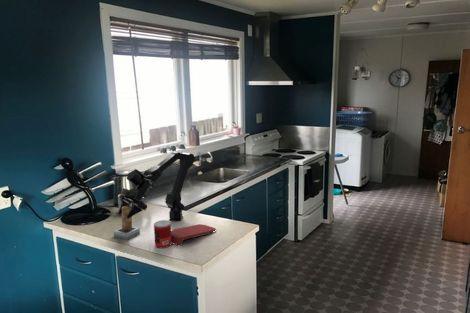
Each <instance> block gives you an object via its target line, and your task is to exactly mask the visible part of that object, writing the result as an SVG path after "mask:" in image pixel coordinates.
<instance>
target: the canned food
mask: <svg viewBox="0 0 470 313" xmlns="http://www.w3.org/2000/svg"><path fill="white" fill-rule="evenodd" d="M171 231H172V224H171V221H170V220H165V219H162V220H158V221H155V222H154V223H153V233H154V234H153V236H154V245H155V247H156V248H159V249H165V248H168V247H170V246H171V245H172V243H171Z"/></svg>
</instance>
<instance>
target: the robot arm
mask: <svg viewBox="0 0 470 313" xmlns="http://www.w3.org/2000/svg"><path fill="white" fill-rule="evenodd" d="M178 160H179V161H178ZM195 160H196V157H195V155H194V154H193V153H189V152H185V151H184V152H182V153H181V152H179V151H172V152H171V153H170V154H169V155H168V156H166V158H164V159H163V160H162V161H160V163H159V162H158V164H157V165H154V166H151V167H149V168H147V169H146V170H145V171H144V172H140V171H139V170H138V169H136V168H134V169H133V170H131V171H130V172H129V173H128V174H127V176H126V180H128V181H129V182H130V183H131V184H132V185H133V186H135V188H129V189H128V188H125V187H123V188H122V190H121V193H120V194H121V195H120V197H119V198H120V200H121V207H120V210H119V209H118V215H122V207H123V206H130V205H129V204H131V203H133V204H132V209H131V210H130V212H129V214H128V216H127V218H130V217H132V218H133V216H135V215H137V214H139V213H141V212H143V211H146V210H147V208H148V205H147V203H145V202H144V201H142V200H143V198H146V197H147V196H146V194H147V192H148V191H149V189H151V188H152V189H154V188H155V186H154V183H153V182H157V181H159V179H160V178H161V177H162V175H163V173H164V171H166V170H168V168H169V167H171V166H172V165H173V164H174V163H175V162H177V161H178V162H179V169H178V171H177V175H176V178H175V181H174V185H173V187H172V190H171V191H170V192H167V193H166V196H165V198H164V200H165V201H164V203H165V204H166V206H167V208H168V209H169V212H168V215H169V221H170V222H171V221H172V222H173V221H174V222H181V221H182V220H183V219H184V216H183V211H184V210H185V205H184V204H183V203H182V202H181V201H182V194H181V193H182V189H183V187H184V183H185V181H186V179H187V174H188V172H189V169H190V168H191V167H192V166H193V165H194V162H195ZM181 219H182V220H181Z"/></svg>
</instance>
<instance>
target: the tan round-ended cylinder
mask: <svg viewBox="0 0 470 313" xmlns="http://www.w3.org/2000/svg"><path fill="white" fill-rule="evenodd" d="M131 209H132V207H131V206H123V207H122V214H121V227H122V232H125V233H127V232H130V231H132V227H133V216H132V217H130V218H127V216H128V214H129V212H130V210H131Z"/></svg>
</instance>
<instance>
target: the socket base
mask: <svg viewBox="0 0 470 313" xmlns="http://www.w3.org/2000/svg"><path fill="white" fill-rule="evenodd" d="M140 231H141V230H140V227H136V226H132V231H130V232H127V233H125V232H122V226H121V227H118V229H115V230H113V237H114V238H119V239H120V240H121V239H122V240H126V241H127V240H130V239H132V238H134V237H136V236H138V235H140V234H141V232H140Z"/></svg>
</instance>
